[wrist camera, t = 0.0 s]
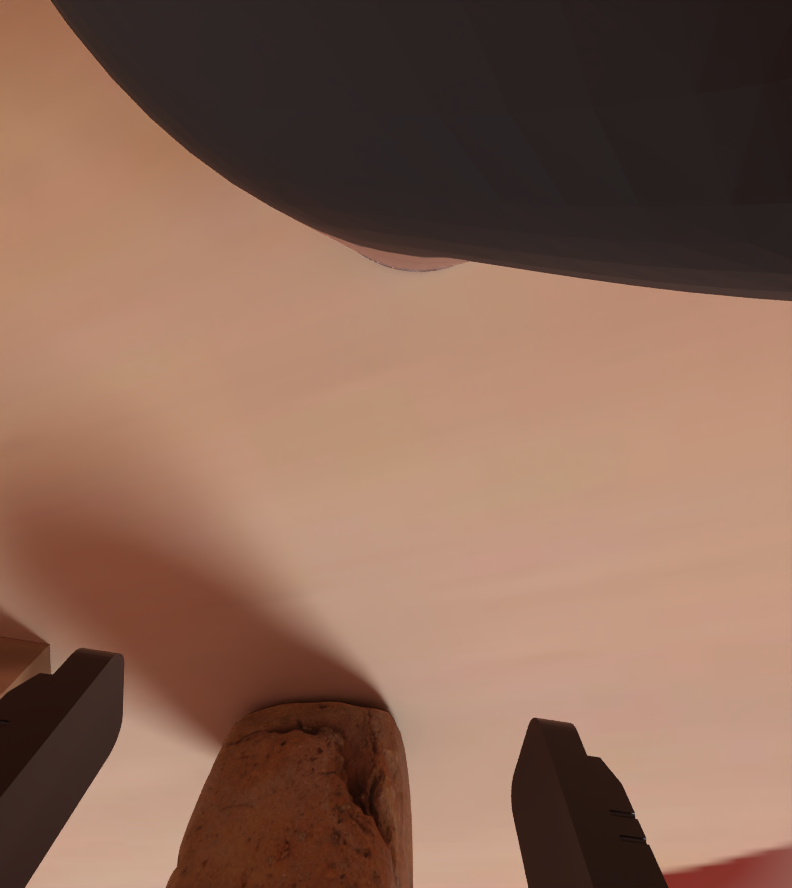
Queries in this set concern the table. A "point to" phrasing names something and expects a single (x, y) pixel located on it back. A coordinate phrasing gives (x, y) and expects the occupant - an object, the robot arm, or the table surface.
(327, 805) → the block
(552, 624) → the table surface
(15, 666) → the walnut cube
